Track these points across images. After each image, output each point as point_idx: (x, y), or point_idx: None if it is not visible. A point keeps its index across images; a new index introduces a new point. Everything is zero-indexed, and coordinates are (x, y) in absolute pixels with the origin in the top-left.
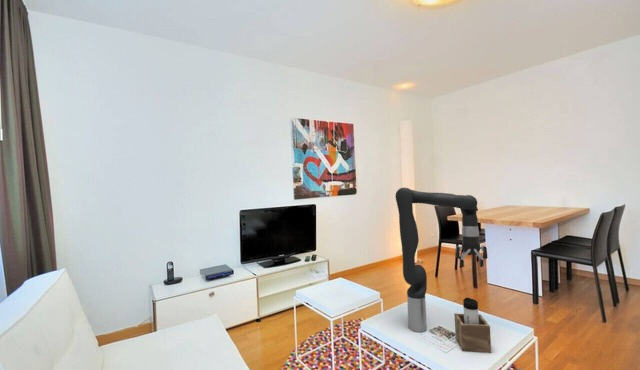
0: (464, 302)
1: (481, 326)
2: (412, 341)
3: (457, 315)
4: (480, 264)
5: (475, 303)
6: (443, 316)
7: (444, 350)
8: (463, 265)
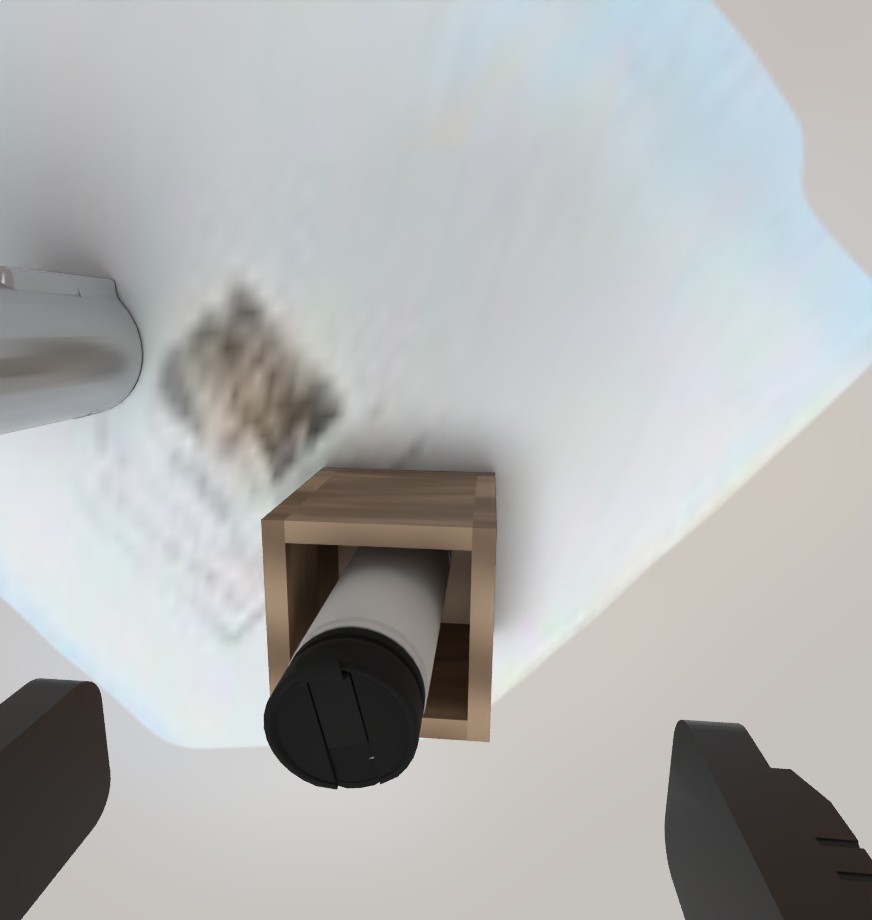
0: (270, 744)
1: (424, 735)
2: (47, 535)
3: (279, 561)
4: (701, 908)
5: (387, 756)
6: (304, 94)
7: (226, 622)
8: (53, 855)
